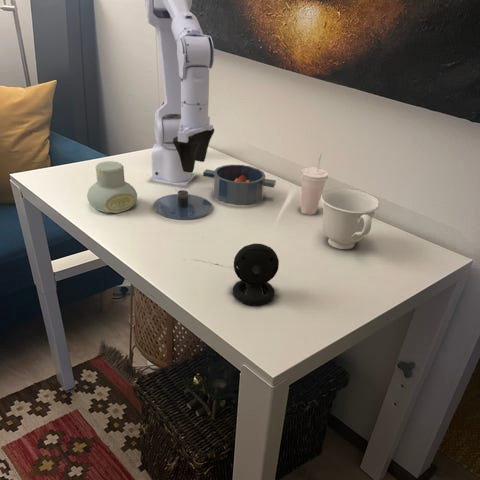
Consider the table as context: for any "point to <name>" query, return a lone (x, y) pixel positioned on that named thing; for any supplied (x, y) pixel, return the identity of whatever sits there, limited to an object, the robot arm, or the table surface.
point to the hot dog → (241, 179)
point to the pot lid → (182, 206)
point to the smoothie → (312, 187)
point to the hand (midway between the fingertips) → (194, 166)
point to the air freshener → (111, 189)
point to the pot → (238, 184)
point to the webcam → (255, 273)
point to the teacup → (347, 216)
